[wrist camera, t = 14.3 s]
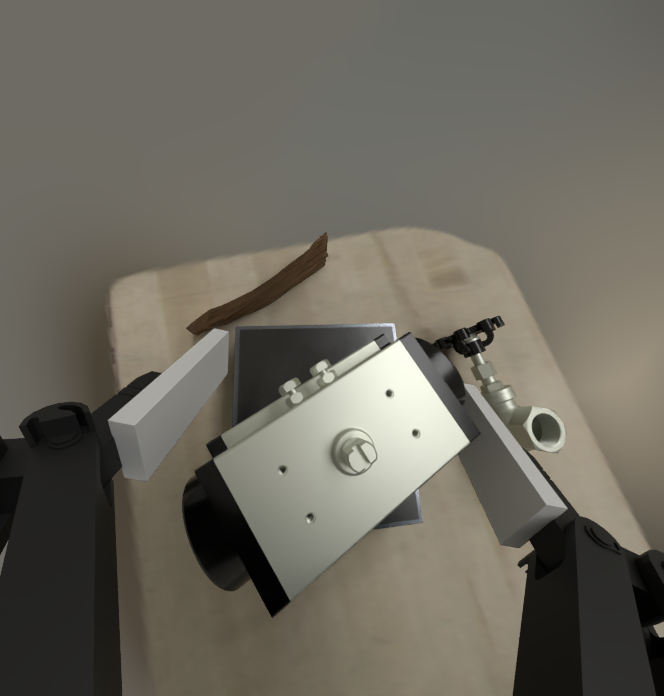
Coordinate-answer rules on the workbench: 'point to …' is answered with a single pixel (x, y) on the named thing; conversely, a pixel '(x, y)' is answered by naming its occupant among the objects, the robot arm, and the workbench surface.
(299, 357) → the stand
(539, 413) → the valve
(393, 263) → the workbench surface
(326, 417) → the pneumatic valve
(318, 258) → the wood plank
